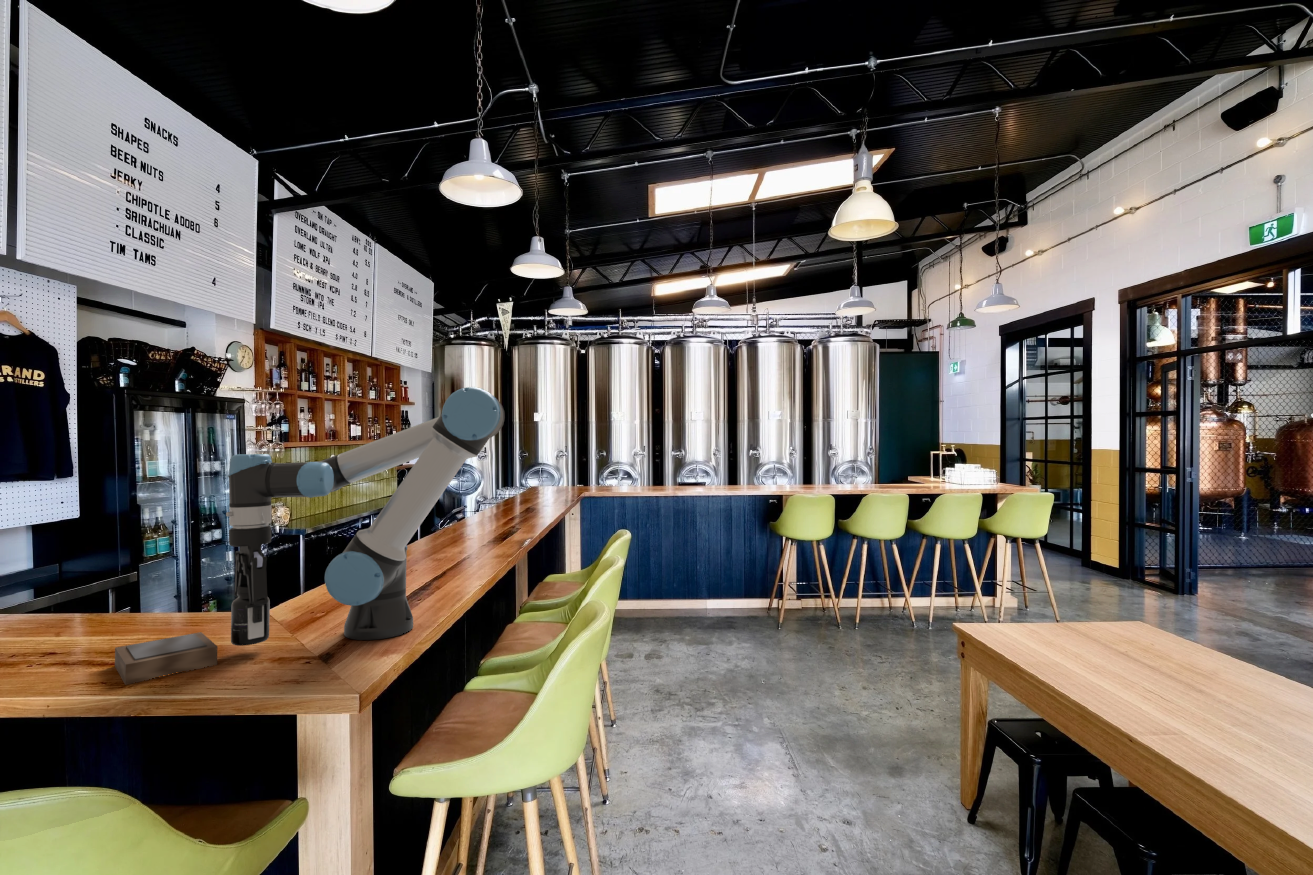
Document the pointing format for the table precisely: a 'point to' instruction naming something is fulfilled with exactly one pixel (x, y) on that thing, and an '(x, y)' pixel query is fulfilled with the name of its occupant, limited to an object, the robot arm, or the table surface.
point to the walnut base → (164, 657)
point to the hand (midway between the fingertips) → (250, 633)
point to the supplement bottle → (245, 619)
